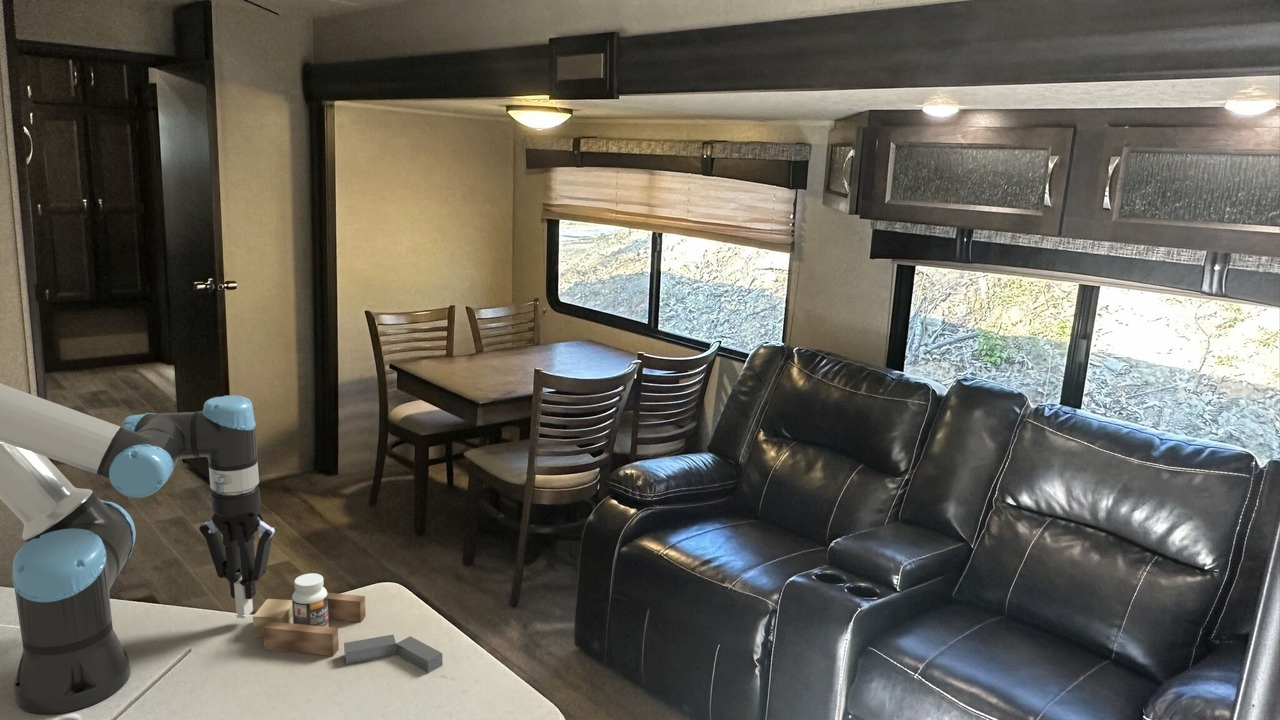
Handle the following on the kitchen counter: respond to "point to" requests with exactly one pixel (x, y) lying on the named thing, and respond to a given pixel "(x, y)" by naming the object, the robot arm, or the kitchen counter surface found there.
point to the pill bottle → (310, 601)
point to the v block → (393, 651)
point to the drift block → (272, 614)
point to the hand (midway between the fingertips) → (244, 614)
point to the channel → (315, 628)
